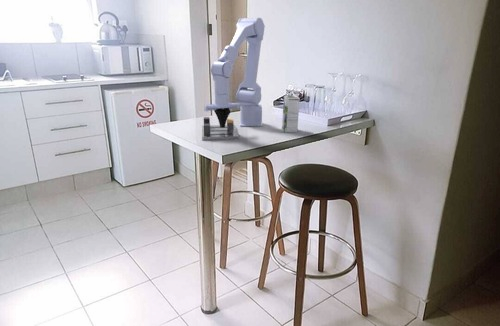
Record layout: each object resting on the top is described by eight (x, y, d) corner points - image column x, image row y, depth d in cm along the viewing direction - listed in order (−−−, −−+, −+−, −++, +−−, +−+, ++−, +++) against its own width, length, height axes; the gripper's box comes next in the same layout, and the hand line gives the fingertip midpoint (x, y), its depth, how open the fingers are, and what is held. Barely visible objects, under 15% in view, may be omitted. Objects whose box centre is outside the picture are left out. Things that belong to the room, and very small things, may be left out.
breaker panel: (234, 127, 155) (234, 115, 153) (239, 139, 138) (239, 126, 136) (202, 128, 153) (201, 116, 151) (202, 140, 136) (201, 126, 135)
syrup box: (281, 128, 154) (283, 94, 149) (295, 128, 154) (297, 94, 149) (283, 132, 148) (285, 97, 144) (298, 132, 149) (300, 97, 144)
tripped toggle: (232, 128, 147) (232, 118, 146) (233, 130, 144) (233, 120, 143) (227, 128, 147) (226, 119, 145) (227, 130, 144) (227, 120, 142)
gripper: (234, 90, 147) (234, 123, 151) (200, 92, 140) (201, 126, 145) (242, 93, 141) (242, 127, 145) (207, 95, 134) (208, 130, 139)
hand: (222, 127), depth 145 cm, fingers closed
